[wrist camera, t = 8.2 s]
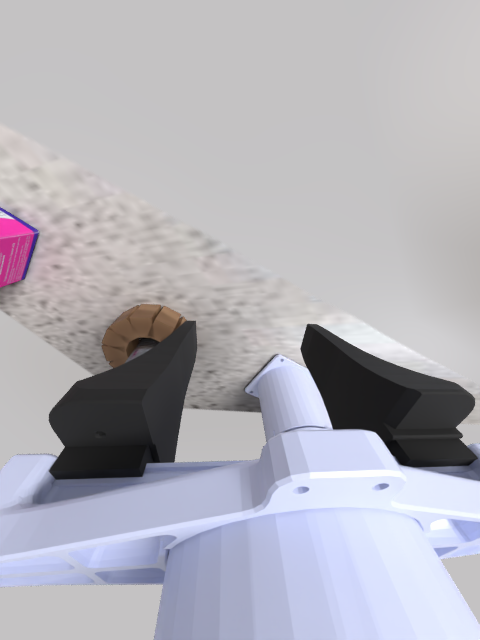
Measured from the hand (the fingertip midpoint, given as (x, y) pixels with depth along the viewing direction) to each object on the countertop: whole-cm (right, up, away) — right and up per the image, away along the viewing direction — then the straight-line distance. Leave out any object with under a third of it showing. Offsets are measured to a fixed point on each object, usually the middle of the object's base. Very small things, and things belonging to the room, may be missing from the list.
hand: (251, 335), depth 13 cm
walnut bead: (-11, -1, +11) cm, 15 cm away
